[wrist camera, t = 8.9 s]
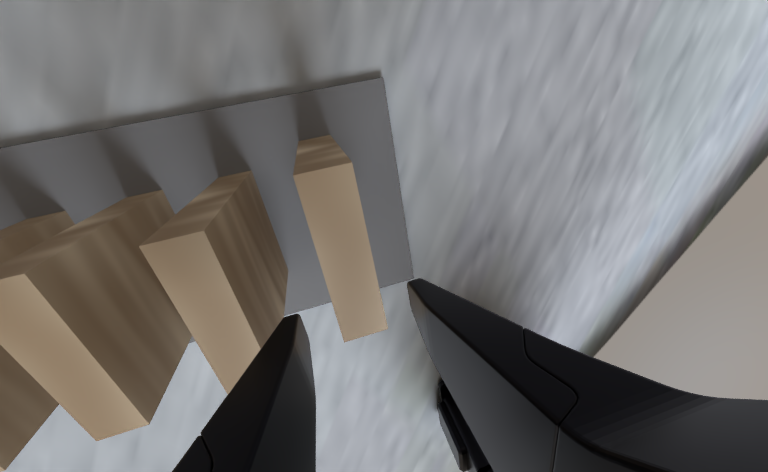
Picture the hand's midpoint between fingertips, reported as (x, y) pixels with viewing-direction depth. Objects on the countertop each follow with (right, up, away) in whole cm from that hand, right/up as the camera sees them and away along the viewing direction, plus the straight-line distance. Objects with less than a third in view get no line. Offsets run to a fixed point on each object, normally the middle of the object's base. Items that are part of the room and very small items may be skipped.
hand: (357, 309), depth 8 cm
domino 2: (-6, +3, +8) cm, 10 cm away
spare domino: (-2, +4, +8) cm, 9 cm away
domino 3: (-10, +1, +7) cm, 12 cm away
